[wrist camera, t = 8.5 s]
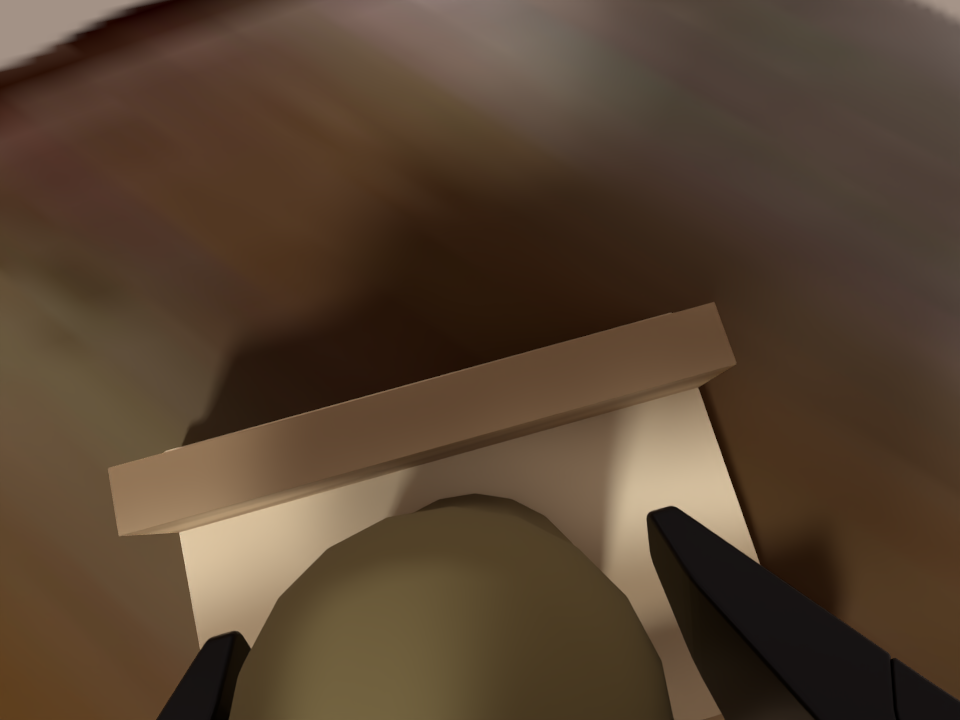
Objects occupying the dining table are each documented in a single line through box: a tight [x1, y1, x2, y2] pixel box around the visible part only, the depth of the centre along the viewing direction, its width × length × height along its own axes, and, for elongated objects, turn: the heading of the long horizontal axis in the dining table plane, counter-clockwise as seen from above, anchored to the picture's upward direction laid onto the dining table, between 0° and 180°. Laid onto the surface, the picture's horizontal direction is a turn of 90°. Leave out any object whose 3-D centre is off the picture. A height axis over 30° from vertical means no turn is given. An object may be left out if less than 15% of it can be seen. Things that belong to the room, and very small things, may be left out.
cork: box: [229, 493, 674, 720], centre depth 12 cm, size 6×6×11 cm
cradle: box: [108, 302, 760, 720], centre depth 16 cm, size 12×14×4 cm
